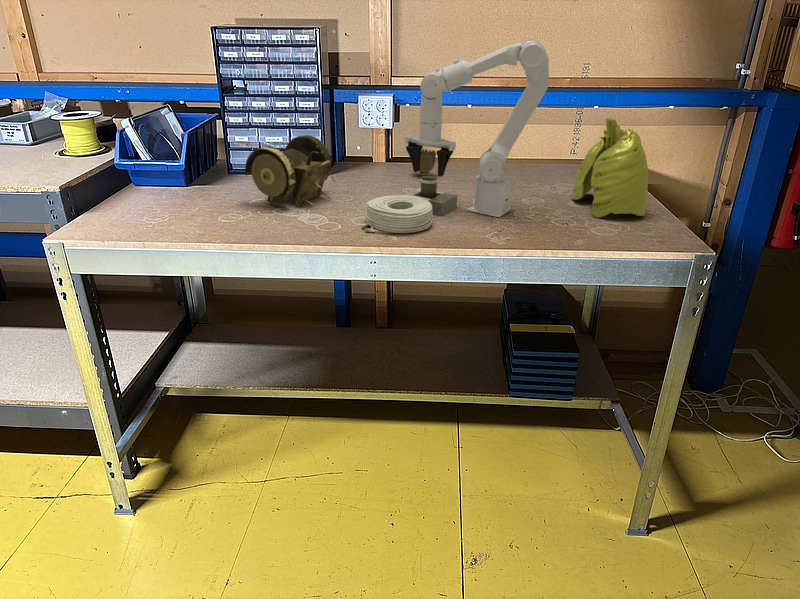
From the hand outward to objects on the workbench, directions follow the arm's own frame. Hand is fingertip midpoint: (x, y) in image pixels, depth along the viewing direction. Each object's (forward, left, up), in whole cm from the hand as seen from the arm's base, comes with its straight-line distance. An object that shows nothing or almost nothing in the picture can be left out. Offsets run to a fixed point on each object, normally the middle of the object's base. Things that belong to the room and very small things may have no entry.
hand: (428, 173), depth 159 cm
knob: (0, -1, -8) cm, 8 cm away
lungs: (-41, -30, -10) cm, 52 cm away
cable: (-1, +16, -10) cm, 19 cm away
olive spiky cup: (+17, -27, -10) cm, 33 cm away
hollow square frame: (-1, 0, -9) cm, 9 cm away
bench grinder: (+33, +16, -10) cm, 38 cm away
